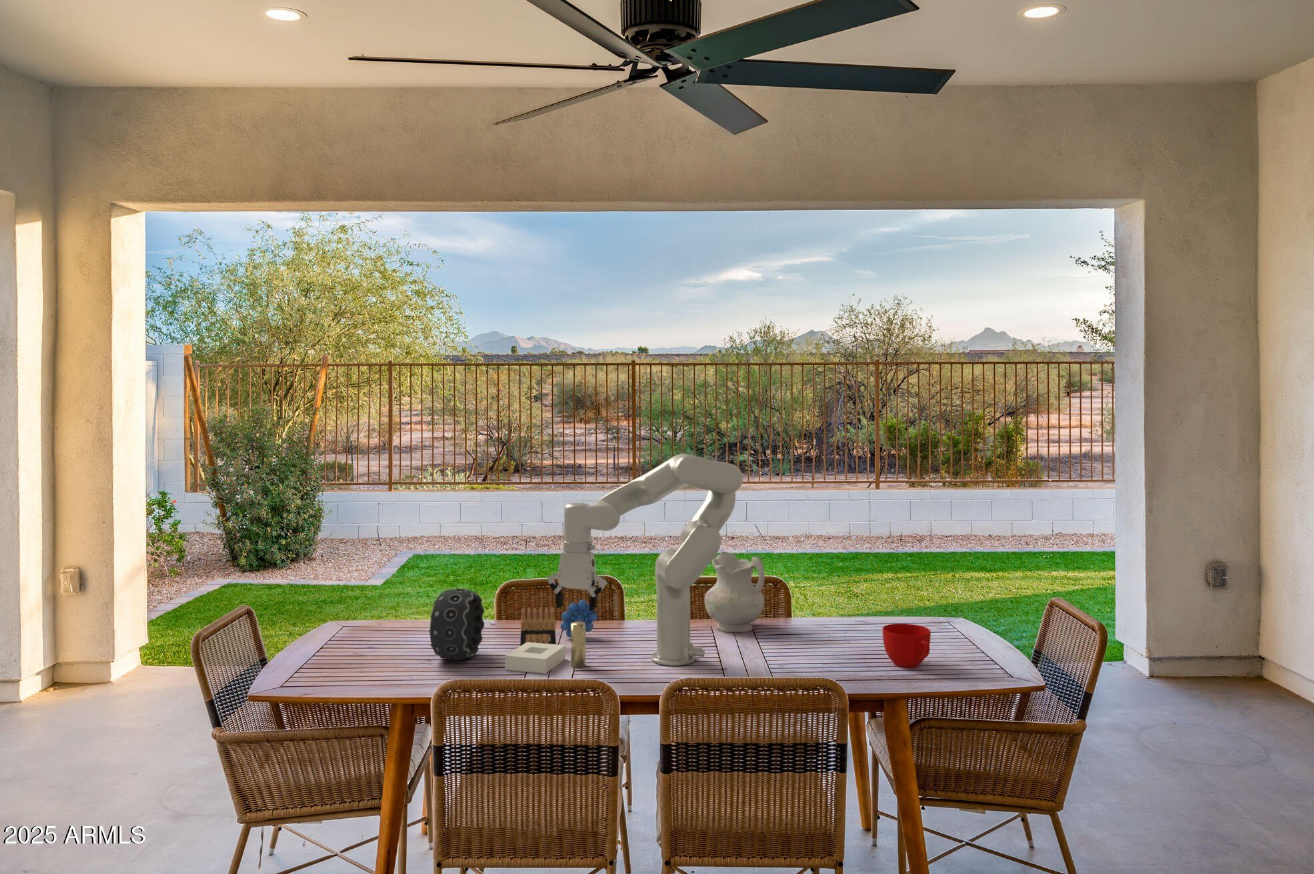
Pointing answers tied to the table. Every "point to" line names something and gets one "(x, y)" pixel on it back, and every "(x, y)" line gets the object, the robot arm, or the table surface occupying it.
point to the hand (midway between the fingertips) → (576, 608)
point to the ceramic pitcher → (735, 593)
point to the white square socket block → (535, 657)
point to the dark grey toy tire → (456, 624)
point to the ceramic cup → (906, 644)
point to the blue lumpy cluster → (578, 617)
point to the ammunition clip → (538, 627)
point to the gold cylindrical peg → (578, 645)
